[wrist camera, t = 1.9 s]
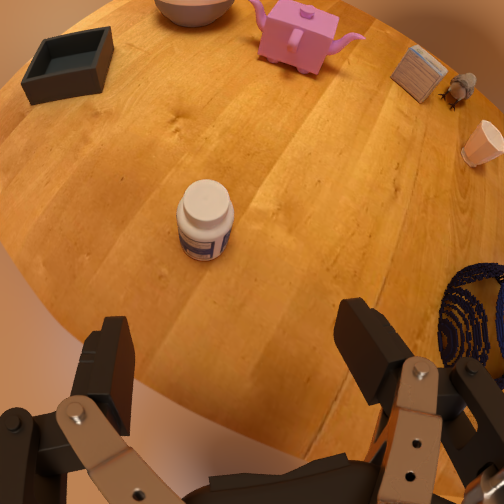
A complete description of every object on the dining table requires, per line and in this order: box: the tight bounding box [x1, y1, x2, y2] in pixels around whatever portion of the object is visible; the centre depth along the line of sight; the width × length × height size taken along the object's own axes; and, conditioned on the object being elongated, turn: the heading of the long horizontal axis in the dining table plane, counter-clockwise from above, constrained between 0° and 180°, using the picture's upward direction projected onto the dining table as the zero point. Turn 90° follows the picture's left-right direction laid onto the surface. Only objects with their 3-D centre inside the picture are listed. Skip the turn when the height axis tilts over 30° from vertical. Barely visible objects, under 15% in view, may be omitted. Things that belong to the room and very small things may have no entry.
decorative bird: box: [438, 73, 476, 110], centre depth 52 cm, size 5×16×8 cm, turn 132°
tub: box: [21, 26, 114, 105], centre depth 39 cm, size 13×12×5 cm
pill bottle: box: [176, 179, 234, 261], centre depth 32 cm, size 5×5×10 cm
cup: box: [461, 120, 504, 167], centre depth 46 cm, size 7×10×8 cm
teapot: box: [248, 0, 366, 75], centre depth 44 cm, size 15×13×11 cm
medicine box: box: [390, 45, 448, 103], centre depth 48 cm, size 8×4×9 cm, turn 44°
